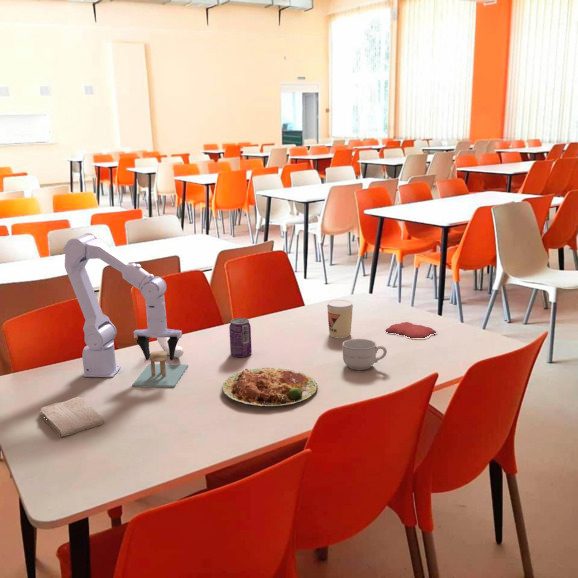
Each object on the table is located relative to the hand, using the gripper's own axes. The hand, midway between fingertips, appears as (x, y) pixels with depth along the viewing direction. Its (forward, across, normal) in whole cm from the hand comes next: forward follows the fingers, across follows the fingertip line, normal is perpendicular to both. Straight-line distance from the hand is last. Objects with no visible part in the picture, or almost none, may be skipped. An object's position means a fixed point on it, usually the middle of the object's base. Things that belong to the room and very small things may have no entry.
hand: (159, 359), depth 191 cm
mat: (+6, 0, 0) cm, 6 cm away
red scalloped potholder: (+6, +81, +44) cm, 92 cm away
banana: (+6, -2, +17) cm, 18 cm away
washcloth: (+6, -16, -29) cm, 34 cm away
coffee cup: (+6, +55, +40) cm, 68 cm away
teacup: (+6, +63, +10) cm, 64 cm away
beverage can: (+6, +22, +19) cm, 30 cm away
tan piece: (+5, 0, 0) cm, 5 cm away
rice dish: (+6, +35, -8) cm, 37 cm away
